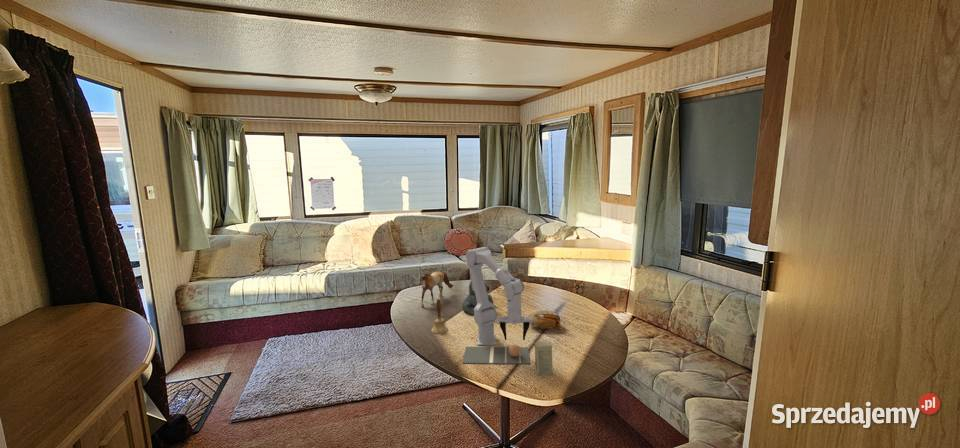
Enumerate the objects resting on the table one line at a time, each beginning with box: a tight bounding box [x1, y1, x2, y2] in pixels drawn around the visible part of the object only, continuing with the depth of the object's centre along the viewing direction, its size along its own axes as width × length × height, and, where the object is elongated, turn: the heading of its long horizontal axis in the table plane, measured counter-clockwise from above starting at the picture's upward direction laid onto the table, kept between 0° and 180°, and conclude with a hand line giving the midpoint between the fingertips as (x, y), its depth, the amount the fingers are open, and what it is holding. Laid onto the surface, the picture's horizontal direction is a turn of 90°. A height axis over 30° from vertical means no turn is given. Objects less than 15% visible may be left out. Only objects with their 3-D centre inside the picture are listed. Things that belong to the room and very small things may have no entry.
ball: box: [509, 344, 521, 357], centre depth 166 cm, size 5×5×5 cm
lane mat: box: [461, 346, 531, 365], centre depth 168 cm, size 14×28×1 cm, turn 86°
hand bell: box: [431, 298, 449, 335], centre depth 193 cm, size 8×8×16 cm
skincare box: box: [534, 340, 554, 376], centre depth 153 cm, size 6×4×12 cm
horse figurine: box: [420, 271, 455, 308], centre depth 233 cm, size 31×8×21 cm, turn 152°
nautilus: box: [527, 309, 568, 333], centre depth 192 cm, size 8×22×15 cm
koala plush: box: [461, 279, 494, 315], centre depth 217 cm, size 17×18×20 cm
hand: (514, 339), depth 165 cm, fingers open, 7 cm apart
